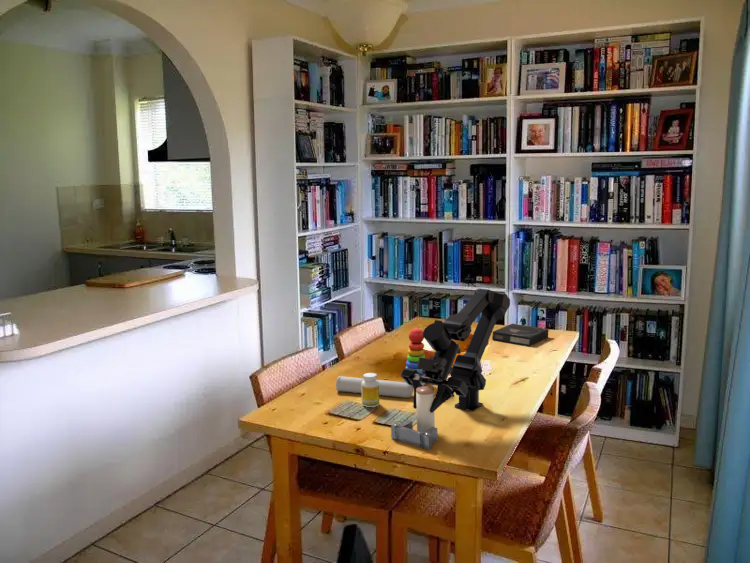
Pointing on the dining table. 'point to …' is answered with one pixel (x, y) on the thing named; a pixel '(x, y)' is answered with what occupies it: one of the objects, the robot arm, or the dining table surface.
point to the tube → (384, 387)
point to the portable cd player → (520, 334)
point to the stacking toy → (415, 350)
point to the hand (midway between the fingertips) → (422, 410)
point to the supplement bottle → (370, 390)
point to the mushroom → (424, 408)
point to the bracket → (414, 435)
